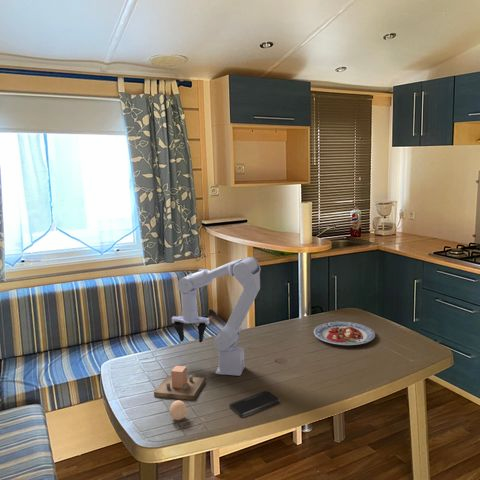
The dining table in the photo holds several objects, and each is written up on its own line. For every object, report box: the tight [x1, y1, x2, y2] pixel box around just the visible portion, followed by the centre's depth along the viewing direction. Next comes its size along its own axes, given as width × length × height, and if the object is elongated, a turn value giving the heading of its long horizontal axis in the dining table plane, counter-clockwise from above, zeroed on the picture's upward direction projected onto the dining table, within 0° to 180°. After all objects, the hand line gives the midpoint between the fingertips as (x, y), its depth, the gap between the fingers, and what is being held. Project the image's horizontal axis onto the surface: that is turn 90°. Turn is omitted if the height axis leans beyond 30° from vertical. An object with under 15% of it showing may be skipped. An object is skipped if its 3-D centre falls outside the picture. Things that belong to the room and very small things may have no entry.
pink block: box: [170, 365, 188, 388], centre depth 149 cm, size 4×4×6 cm
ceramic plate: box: [313, 321, 376, 346], centre depth 188 cm, size 26×26×3 cm
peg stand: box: [153, 374, 206, 401], centre depth 149 cm, size 14×12×4 cm
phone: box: [229, 390, 280, 418], centre depth 138 cm, size 8×1×15 cm
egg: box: [169, 399, 188, 421], centre depth 131 cm, size 5×5×6 cm
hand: (191, 340), depth 166 cm, fingers open, 7 cm apart
